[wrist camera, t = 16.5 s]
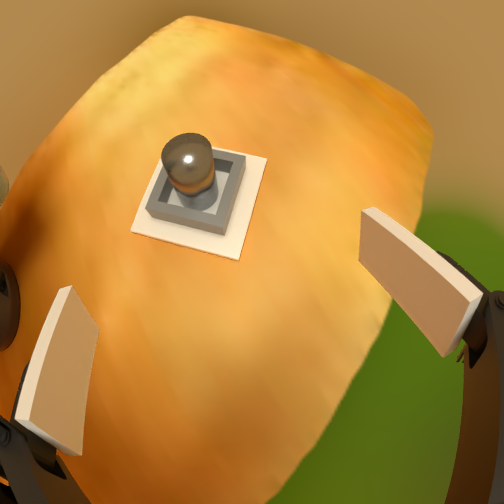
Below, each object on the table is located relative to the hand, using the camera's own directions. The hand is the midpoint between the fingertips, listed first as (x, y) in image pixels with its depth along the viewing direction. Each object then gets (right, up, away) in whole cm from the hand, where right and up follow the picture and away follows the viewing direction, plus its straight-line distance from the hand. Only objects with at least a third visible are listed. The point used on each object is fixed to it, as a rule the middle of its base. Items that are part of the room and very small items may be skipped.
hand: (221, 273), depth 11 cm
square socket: (-5, +8, +23) cm, 25 cm away
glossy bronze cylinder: (-5, +8, +22) cm, 24 cm away
